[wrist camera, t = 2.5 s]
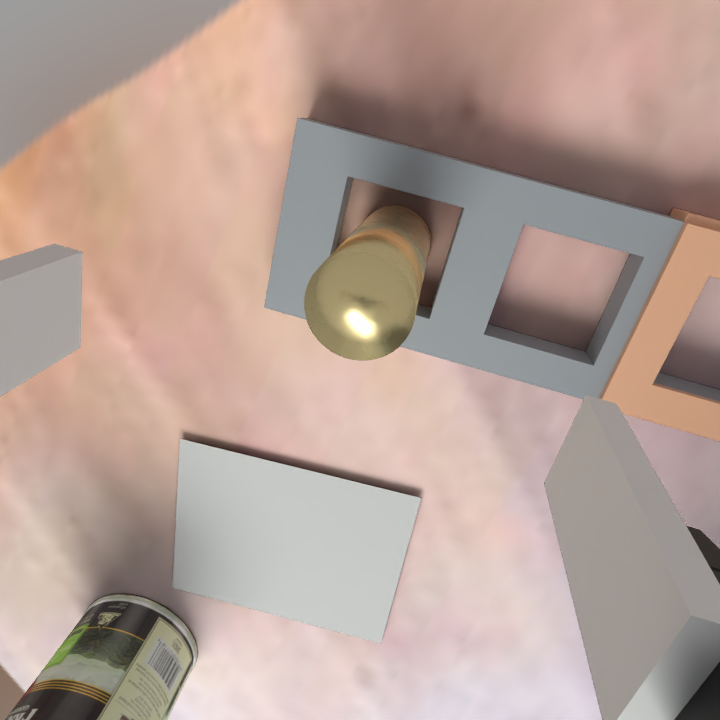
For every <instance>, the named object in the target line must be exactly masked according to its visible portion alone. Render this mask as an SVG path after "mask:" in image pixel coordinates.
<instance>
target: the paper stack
mask: <svg viewBox="0 0 720 720" xmlns="http://www.w3.org/2000/svg"><path fill="white" fill-rule="evenodd" d="M420 501H421V498H420V497H416V496H412V495H408V494H403V493H399V492H395V491H391V490H387V489H383V488H379V487H375V486H371V485H367V484H363V483H359V482H355V481H351V480H346V479H342V478H338V477H334V476H330V475H326V474H322V473H318V472H314V471H310V470H306V469H302V468H298V467H294V466H289V465H285V464H281V463H277V462H273V461H269V460H265V459H261V458H257V457H253V456H249V455H245V454H241V453H237V452H232V451H228V450H224V449H220V448H216V447H212V446H208V445H204V444H200V443H196V442H192V441H188V440H184V439H180V445H179V465H178V485H177V505H176V526H175V546H174V566H173V586H172V588H175V589H178V590H182V591H186V592H190V593H193V594H197V595H201V596H205V597H208V598H212V599H216V600H220V601H223V602H227V603H231V604H235V605H238V606H242V607H246V608H250V609H253V610H257V611H261V612H265V613H268V614H272V615H276V616H280V617H283V618H287V619H291V620H295V621H298V622H302V623H306V624H310V625H313V626H317V627H321V628H324V629H328V630H332V631H336V632H339V633H343V634H347V635H351V636H354V637H358V638H362V639H366V640H369V641H373V642H377V643H381V641H382V638H383V634H384V630H385V627H386V623H387V620H388V616H389V612H390V609H391V605H392V602H393V598H394V594H395V591H396V587H397V584H398V580H399V576H400V573H401V569H402V566H403V562H404V558H405V555H406V551H407V548H408V544H409V541H410V537H411V533H412V530H413V526H414V523H415V519H416V515H417V512H418V508H419V505H420Z"/></svg>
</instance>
